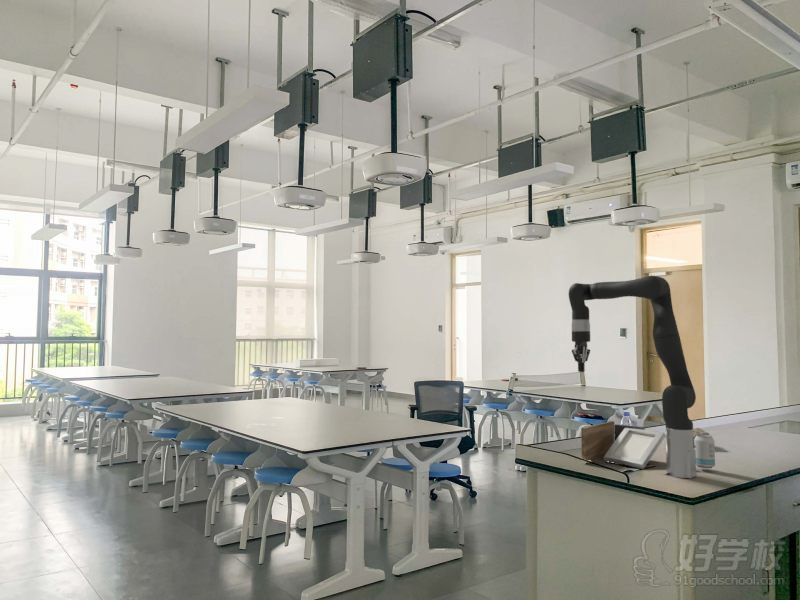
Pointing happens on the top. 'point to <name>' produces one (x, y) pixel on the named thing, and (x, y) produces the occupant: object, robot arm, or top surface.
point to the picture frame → (634, 447)
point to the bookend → (621, 427)
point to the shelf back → (597, 440)
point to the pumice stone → (698, 431)
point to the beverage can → (704, 451)
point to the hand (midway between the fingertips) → (581, 371)
